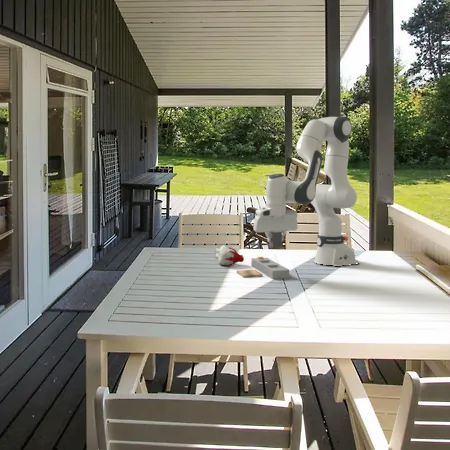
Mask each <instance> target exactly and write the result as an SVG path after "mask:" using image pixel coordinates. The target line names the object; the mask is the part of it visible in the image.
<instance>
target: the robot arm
mask: <svg viewBox="0 0 450 450" xmlns="http://www.w3.org/2000/svg"><path fill="white" fill-rule="evenodd" d="M352 126H353V125H352V123H351V120H350V119H349V118H347V117H344V116H327V117H321V118H320V117H318V118H317V117H316V118H314V119H310V120H309V121H308V122H307V123H306V125H305V127H304V128H303V130H302V132H301V133H300V136H299V137H298V140H297V143H296V147H295V150H296V152H297V155H298V156H299V157H300V158H301V159H302V160H303V161H305V162H307V163H308V166H307V169H306V174H305V176H304V179H303V180H302V181H296V180H291V179H289V178H288V177H286V175H285V173H274V174H271V175H269V176H268V178H267V180H266V188H265V189H266V191H265V192H266V202H265V206H264V207H261V208H257V209H256V210H255V217H254V219H253V227H252V228H253V231H254V232H255V233H264V234H265V236H266V238H267V242H268V243H269V242H272V238H271V237H270V236H269V234H270V232H274V231H281V232H282V242H283V241H284V237H286V235H287V232H289V231H297V229H298V212H297V211H296V210H295V209H287V203H288V202H289V203H296V204H300V205H304V206H307V205H309V204H311V205H312V207H314V209H315V212H316V214H317V219H318V234H317V238H316V239H317V241H316V242H317V243H316V245H317V249H316V253H315V258H314V260H313V262H315V264H316V263H317V265H320V264H323V265H322V266H326V265H334V266H341V265H349V264H356V263H360V261H359V260H358V259H356V254H355V251H354V250H353V249H352V248H351V247H349V246H348V245H347V244H346V243H345V241H346V242H347V241H349V237H348V236H343V235H342V227H343V225H342V224H343V223H342V222H343V221H342V219H341V217H340V216H339V215H337V214H336V212H335V211H334V209H351V208H352V207H354V206H355V205H356V203H357V200H358V196H357V195H358V194H357V192H356V190H355V188H353V186H352V185H351V183H350V181H349V179H348V163H349V156H350V155H349V153H350V151H349V150H350V143H349V141H350V140H349V137H350V136H351V133H352V129H353V128H352ZM324 141H327V146H326V151H325V157H324V165H323V173H324V174H325V175H326V176H328V178H329V179H330V181H331V184H323V183H319V184H318V179H319V175H320V172H321V168H322V163H323V154H322V153H321V149H322V146H323V144H324ZM334 266H333V267H334ZM349 266H350V265H349ZM341 267H342V266H341Z"/></svg>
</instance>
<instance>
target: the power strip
mask: <svg viewBox="0 0 450 450" xmlns="http://www.w3.org/2000/svg"><path fill="white" fill-rule="evenodd" d="M251 267H253V269H254V270H257V271H258V272H260V273H261V274H262V275H263V274H264V275H265V276H267V277H268V278H270V279H271V280H280V279H290V269H288V268H287V267H286V266H283V265H281V264H280V263H278V262H276V261H274V260H272V259H271V258H268V257H263V256H257V257H256V258H255V257H254V258H251Z"/></svg>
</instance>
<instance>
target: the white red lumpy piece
mask: <svg viewBox="0 0 450 450" xmlns="http://www.w3.org/2000/svg"><path fill="white" fill-rule="evenodd" d="M214 250H215V251H214V258H215V259H217V261H218V263H219V264H220V265H222V266H227V267H230V266H233V265H234V264H237V263H244V261H245V258H244V255H242V254H239V253H238V251H237V250H236V249H235V248H232V247H230V246H227V245H221V246H220V248H219V247H217V248H214Z"/></svg>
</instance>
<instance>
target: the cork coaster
mask: <svg viewBox="0 0 450 450" xmlns="http://www.w3.org/2000/svg"><path fill="white" fill-rule="evenodd" d="M236 274H238V275H239V276H240V277H242V278H260V277H263V273H262V272H260V271H259V270H257V269H244V270H242V269H241V270H236Z"/></svg>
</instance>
